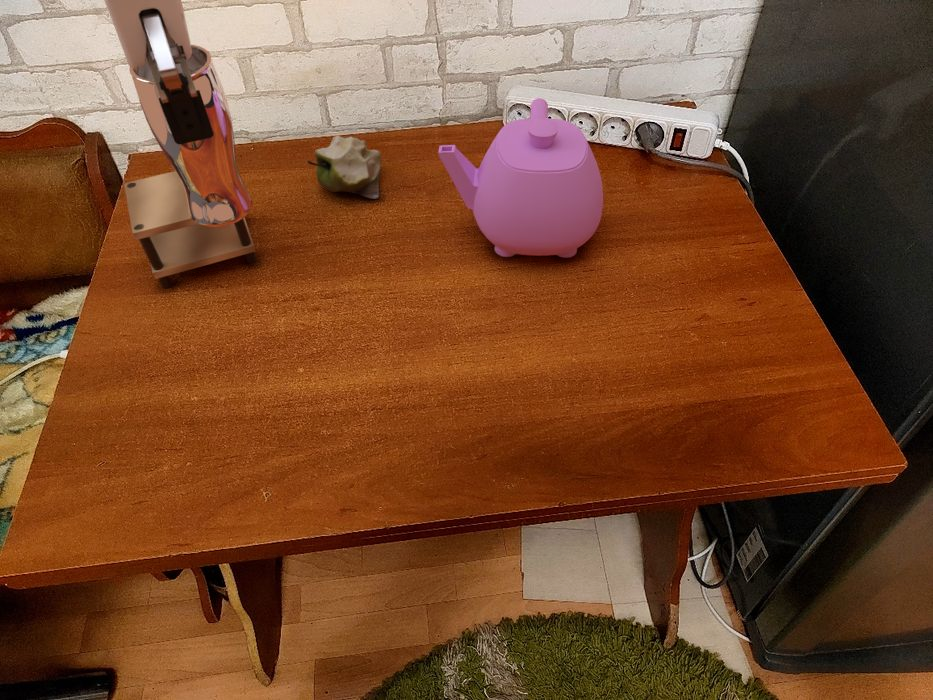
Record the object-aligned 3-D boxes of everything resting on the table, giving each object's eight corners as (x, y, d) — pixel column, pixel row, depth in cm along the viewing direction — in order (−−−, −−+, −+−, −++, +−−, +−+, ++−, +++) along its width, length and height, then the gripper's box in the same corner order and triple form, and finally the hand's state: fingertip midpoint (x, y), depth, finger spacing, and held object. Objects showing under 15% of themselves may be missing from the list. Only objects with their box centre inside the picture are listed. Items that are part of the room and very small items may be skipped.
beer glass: (170, 220, 67) (107, 73, 55) (214, 180, 71) (163, 36, 59) (230, 238, 65) (177, 90, 54) (271, 196, 69) (230, 50, 58)
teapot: (447, 176, 96) (443, 74, 85) (590, 177, 96) (605, 75, 84) (438, 272, 84) (432, 169, 72) (603, 275, 83) (623, 170, 72)
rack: (161, 291, 82) (132, 233, 76) (151, 241, 88) (123, 183, 81) (260, 263, 85) (240, 205, 78) (244, 216, 91) (225, 158, 84)
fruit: (326, 217, 93) (303, 166, 87) (326, 181, 99) (304, 132, 94) (391, 199, 92) (372, 146, 87) (386, 164, 99) (369, 113, 93)
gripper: (45, -147, 51) (136, 79, 65) (47, -69, 41) (155, 181, 54) (149, -159, 53) (216, 63, 66) (177, -87, 42) (250, 159, 56)
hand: (188, 115), depth 60 cm, fingers closed on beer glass, 7 cm apart
